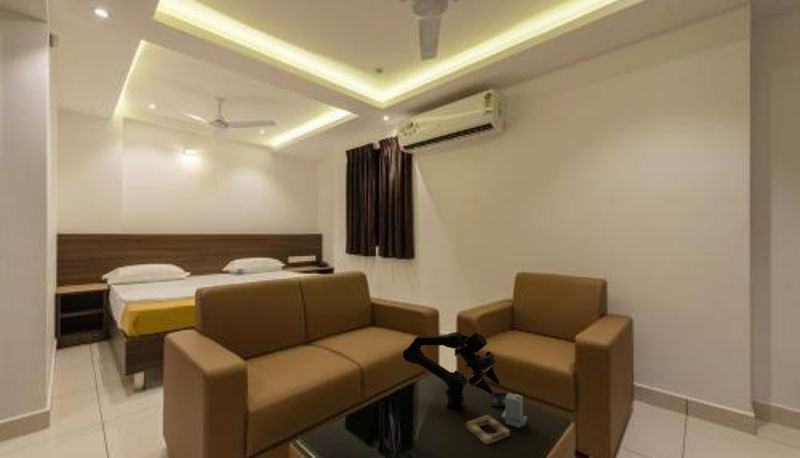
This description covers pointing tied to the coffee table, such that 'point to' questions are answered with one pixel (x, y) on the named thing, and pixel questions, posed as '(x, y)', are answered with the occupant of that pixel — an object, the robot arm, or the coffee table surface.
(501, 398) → the mini dv tape
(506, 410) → the servo
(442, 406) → the coffee table surface
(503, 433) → the plate
